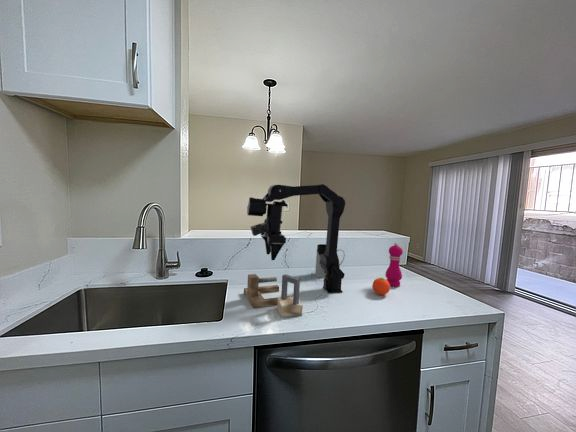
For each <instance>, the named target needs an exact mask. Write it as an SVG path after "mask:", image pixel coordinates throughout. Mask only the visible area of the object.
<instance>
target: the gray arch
mask: <svg viewBox="0 0 576 432" xmlns="http://www.w3.org/2000/svg"><path fill="white" fill-rule="evenodd" d="M281 277H282V278H281V295H280V297H281V299H282V300H285V299H287V296H288V285H289V284H288V283H291V284H293V293H292V294H293V295H292V297H293V304H295V305H297V304H299V300H300V285H301V278H298V277H295V276H292V275H289V274H286V273H285V274H282V276H281Z"/></svg>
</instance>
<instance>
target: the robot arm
mask: <svg viewBox="0 0 576 432" xmlns="http://www.w3.org/2000/svg"><path fill="white" fill-rule="evenodd" d="M309 195H310V196H311V195H318V196H319V197H320V198H321V200H322V201H323V202H324V203H325V210H326V213H327V217H328V218H327V227H326V228H327V230H326V238H325V239H326V240H325V244H326V250H325V252H324V254H320V262H319V263H320V264H321V268H322V269H323V270H324V273H326V274H327V275H325V278H323V285H322V288H323V290H325V291H326V292H327V293H328V294H336V293H337V294H339V293H343V290H342V280H343V279H344V277H345V273H344V272H343V271H342V269H341V267H340V266H339V264H340V259H339V255H338V251H337V250H338V244H339V243H338V242H339V231H340V222H341V218H342V215H343V213H344V211H345V209H346V200H345V198H344V197H343V196H340V195H338V194H337V193H336V192H335V191H333V190H332V189H330V188H329V187H328V185H326V184H324V183H322V184H321V183H319V184H313V185H299V186H293V185H292V186H290V185H285V184H272V185H270V186H269V187H268V190H267V192H266V194H265V195H264V196H263V198H255V197H252V196H251V197H249V198H248V203H247V204H248V205H247V206H246V207H247V208H246V209H247V210H246V214H247V215H246V216H252V217H253V216H254V217H264V215H266V218H265V219H264V222H262V223H258V224H253V225H251V226H250V231H251V234H252V236H253V237H255V236H258V235H260V238H262V239H263V240H264V244H265V245H264V246H265V252H266V255H270V258H271V261H275V260H276V258H277V257H278V254H279V253H280V251H281V250H282V248H283V247H284V245H285V244H286V242H287V237H285V235H284V234H282V231H281V225H282V224H283V220H282V215H283V207H286V208H287V207H288V206H289V205H288V204H287V203H286V201H285V200H284V199H288V198H291V197H294V196H295V197H296V196H297V197H298V196H309ZM280 200H281V201H280Z"/></svg>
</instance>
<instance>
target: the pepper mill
mask: <svg viewBox="0 0 576 432" xmlns="http://www.w3.org/2000/svg"><path fill="white" fill-rule="evenodd" d="M403 251H404V250H403V247H401V246H399V243H398V242H397V241H396V242H394V245H391V246H389V248H388V253H389V266H388V267H387V268H386V271H385V274H384V276H385V279H386V280H387V281H388V282H389V284H390V287H393V286H395V287H394V288H398V286H399V287H400V286H401V280H402V278H403V273H402V269H401V268H400V267H401V266H400V261H401V260H402V255H403V253H404V252H403Z"/></svg>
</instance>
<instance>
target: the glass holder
mask: <svg viewBox="0 0 576 432" xmlns="http://www.w3.org/2000/svg"><path fill="white" fill-rule="evenodd" d="M316 247H317V249H316V257H315V259H316V260H315V272H314V273H313V274H314V276H315V277H317V278H321V279H324V278H325V275H327V274H326V273H324V270H323V269H322V268H321V264H320V263H319V262H320V254H324V252H325V250H326V243H325V244H324V243H323V244H321V243H320V244H319V243H318V244H317V246H316ZM339 251H341V252H343V258H342V260H341V262H339V266H340V265H342V263H343V262H344V260H345V257H346V256H345V252H344V250H343V249H337V252H339Z"/></svg>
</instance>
